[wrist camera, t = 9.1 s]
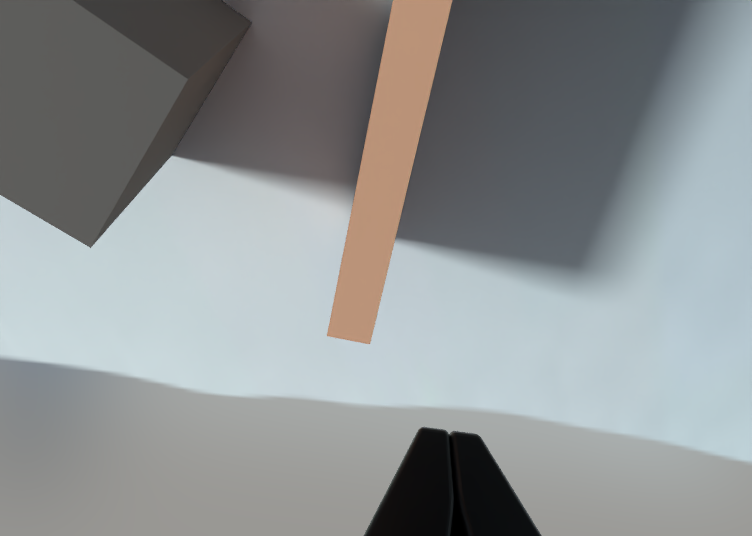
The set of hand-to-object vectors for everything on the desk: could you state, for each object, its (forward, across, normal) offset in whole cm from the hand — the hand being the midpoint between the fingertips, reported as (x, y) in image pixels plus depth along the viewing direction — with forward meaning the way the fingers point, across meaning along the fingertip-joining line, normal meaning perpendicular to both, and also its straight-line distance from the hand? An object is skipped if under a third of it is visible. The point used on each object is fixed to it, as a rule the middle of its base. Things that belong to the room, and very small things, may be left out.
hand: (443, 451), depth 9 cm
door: (+11, +1, -3) cm, 11 cm away
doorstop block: (+11, +9, -3) cm, 14 cm away
